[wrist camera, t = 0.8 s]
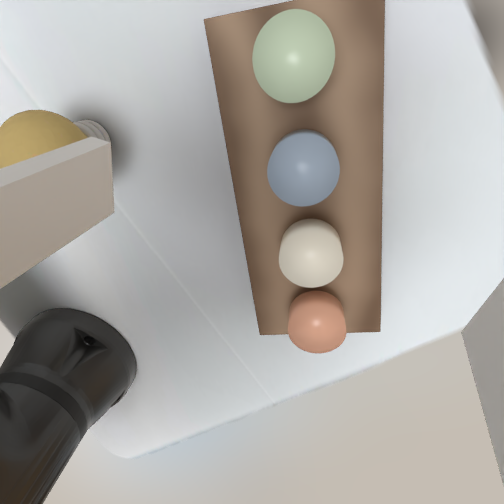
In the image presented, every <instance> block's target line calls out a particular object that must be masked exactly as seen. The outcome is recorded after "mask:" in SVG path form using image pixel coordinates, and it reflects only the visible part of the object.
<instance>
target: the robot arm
mask: <svg viewBox="0 0 504 504" xmlns="http://www.w3.org/2000/svg"><path fill="white" fill-rule="evenodd" d="M113 213H114V198H113V176H112V155H111V142H107V141H104V140H101V139H98V138H95V137H89V138H86V139H83V140H80V141H77V142H75V143H72V144H69V145H66V146H63V147H60V148H58V149H55V150H52V151H49V152H46V153H44V154H41V155H38V156H35V157H32V158H29V159H27V160H24V161H21V162H18V163H15V164H13V165H10V166H7V167H4V168H1V169H0V289H1V288H2V287H4V286H5V285H7V284H8V283H10V282H11V281H13V280H14V279H16V278H17V277H19V276H20V275H22V274H23V273H25V272H26V271H28V270H29V269H31V268H32V267H34V266H35V265H37V264H38V263H40V262H41V261H43V260H44V259H46V258H47V257H49V256H50V255H52V254H53V253H55V252H56V251H58V250H59V249H60V248H62V247H63V246H65V245H66V244H68V243H69V242H71V241H72V240H74V239H75V238H77V237H78V236H80V235H81V234H83V233H84V232H86V231H87V230H89V229H90V228H92V227H93V226H95V225H96V224H98V223H99V222H101V221H102V220H104V219H105V218H107V217H108V216H110V215H111V214H113ZM461 333H462V336H463V340H464V344H465V347H466V351H467V354H468V358H469V361H470V365H471V369H472V373H473V376H474V380H475V383H476V387H477V391H478V394H479V398H480V402H481V405H482V409H483V412H484V416H485V420H486V423H487V427H488V431H489V434H490V438H491V441H492V445H493V448H494V452H495V456H496V460H497V463H498V467H499V471H500V474H501V478H502V482H503V485H504V279H503V280H502V281H501V282H500V284H499V285H498V286H497V287H496V289H495V290H494V291H493V293H492V294H491V295H490V296H489V298H488V299H487V300H486V301H485V303H484V304H483V305H482V306H481V308H480V309H479V310H478V311H477V313H476V314H475V315H474V317H473V318H472V319H471V320H470V322H469V323H468V324H467V325H466V327H465V328H464V329H463V330H462V332H461ZM135 374H136V362H135V358H134V355H133V353H132V351H131V349H130V347H129V345H128V344H127V342H126V341H125V340H124V339H123V337H122V336H121V335H120V334H119V333H118V332H117V331H116V330H114V329H113V328H112V327H111V326H109V325H108V324H106V323H105V322H103V321H102V320H100V319H98V318H96V317H94V316H92V315H89V314H87V313H84V312H81V311H77V310H72V309H52V310H48V311H45V312H42V313H40V314H38V315H37V316H36V317H34V318H33V319H32V320H31V321H30V322H29V323H28V324H27V325H26V326H24V327H23V328H22V330H21V331H20V332H19V334H18V335H17V337H16V340H15V342H14V345H13V347H12V348H11V350H10V352H9V353H8V355H7V357H6V359H5V360H4V362H3V364H2V366H1V367H0V504H43V502H44V501H45V499H46V497H47V496H48V494H49V492H50V491H51V489H52V487H53V486H54V484H55V482H56V481H57V479H58V478H59V476H60V474H61V473H62V471H63V469H64V468H65V466H66V464H67V463H68V461H69V459H70V458H71V456H72V454H73V452H74V451H75V449H76V448H77V446H78V444H79V442H80V441H81V439H82V438H83V436H84V435H85V433H86V432H87V430H88V429H89V428H90V427H91V426H92V425H93V424H94V423H95V422H96V421H97V420H99V419H100V418H101V417H102V416H103V415H104V414H105V413H106V412H107V410H108V409H109V408H110V407H112V406H113V405H115V404H116V403H118V402H119V401H120V400H121V399H122V398H123V397H124V395H125V394H126V392H127V391H128V389H129V387H130V385H131V384H132V382H133V380H134V378H135Z"/></svg>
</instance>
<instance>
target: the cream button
mask: <svg viewBox="0 0 504 504" xmlns="http://www.w3.org/2000/svg"><path fill="white" fill-rule="evenodd" d="M343 259H344V258H343V252H342V247H341V242H340V238H339V235H338V233H337V232H336V230H335V229H334V228H333V227H332V226H331V225H330V224H328V223H326V222H324V221H322V220H318V219H303V220H300V221H298V222H295V223H294V224H292V225H291V226H290V227H289V228H288V229H287V230H286V231H285V233H284V234H283V237H282V240H281V246H280V252H279V266H280V269H281V271H282V273H283V274H284V276H285V277H286V278H287V279H288V280H290V281H291V282H292V283H294V284H296V285H299V286H302V287H308V288H314V287H320V286H324V285H326V284H328V283H330V282H331V281H333V280H334V279H335V278H336V277H337V276H338V274H339V273H340V271H341V269H342V266H343Z"/></svg>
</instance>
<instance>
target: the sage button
mask: <svg viewBox="0 0 504 504" xmlns="http://www.w3.org/2000/svg"><path fill="white" fill-rule="evenodd" d="M334 61H335V45H334V40H333V37H332V34H331V32H330V30H329V28H328V27H327V25H326V24H325V23H324V21H323V20H322V19H321V18H319V17H318V16H317V15H315V14H313V13H312V12H309V11H306V10H302V9H290V10H286V11H283V12H281V13H278V14H277V15H275V16H273V17H272V18H271V19H270V20H269V21H268V22H267V23H266V24H265V25H264V26H263V27H262V29H261V30H260V32H259V34H258V36H257V38H256V41H255V44H254V48H253V56H252V62H253V70H254V73H255V77H256V79H257V81H258V83H259V85H260V86H261V88H262V89H263V90H264V91H265V92H266V93H267V94H268V95H269V96H271V97H272V98H274V99H276V100H278V101H281V102H285V103H298V102H302V101H305V100H308V99H309V98H311V97H313V96H314V95H316V94H317V93H318V92H319V91H320V90H321V89H322V88H323V87H324V86H325V84H326V83H327V81H328V79H329V77H330V75H331V73H332V70H333V66H334Z"/></svg>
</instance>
